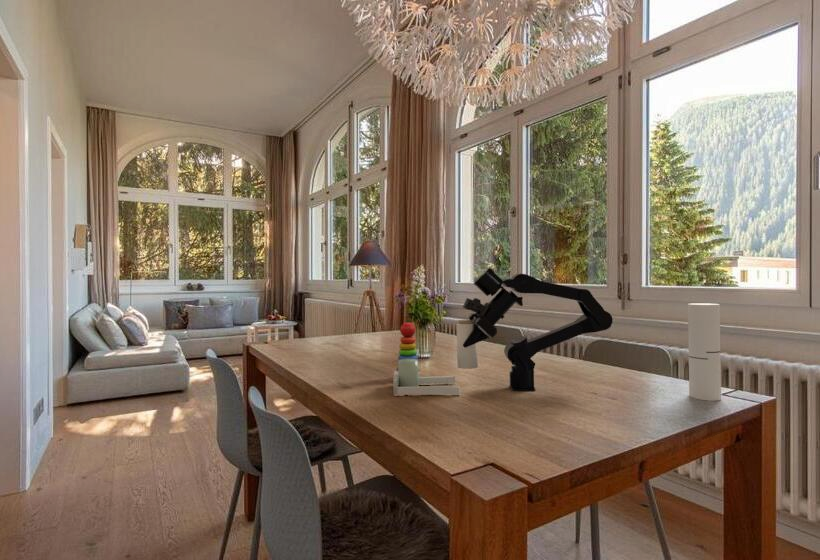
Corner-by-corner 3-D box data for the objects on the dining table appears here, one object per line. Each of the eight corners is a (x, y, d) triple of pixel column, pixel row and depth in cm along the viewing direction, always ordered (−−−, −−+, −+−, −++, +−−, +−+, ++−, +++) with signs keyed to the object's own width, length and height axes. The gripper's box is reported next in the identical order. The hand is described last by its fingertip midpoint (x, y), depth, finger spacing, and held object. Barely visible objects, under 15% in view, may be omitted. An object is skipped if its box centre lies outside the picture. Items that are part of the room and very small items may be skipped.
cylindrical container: (726, 401, 116) (724, 304, 115) (695, 400, 117) (694, 305, 117) (713, 394, 123) (712, 303, 122) (684, 393, 124) (683, 303, 124)
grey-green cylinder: (419, 388, 136) (419, 358, 135) (417, 393, 130) (417, 362, 130) (400, 387, 136) (399, 358, 136) (397, 393, 130) (396, 362, 130)
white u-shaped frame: (455, 383, 141) (454, 369, 141) (460, 396, 125) (460, 380, 125) (394, 384, 140) (394, 370, 140) (393, 397, 125) (393, 381, 125)
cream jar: (480, 365, 134) (479, 319, 134) (473, 369, 129) (471, 321, 129) (462, 364, 137) (461, 319, 137) (454, 367, 132) (453, 321, 132)
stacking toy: (420, 381, 144) (419, 323, 144) (395, 381, 144) (394, 324, 144) (420, 376, 152) (419, 321, 152) (396, 376, 152) (395, 321, 152)
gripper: (473, 287, 142) (440, 323, 142) (484, 289, 124) (445, 330, 124) (499, 311, 142) (465, 347, 142) (513, 316, 124) (474, 357, 124)
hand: (462, 344), depth 133 cm, fingers closed on cream jar, 6 cm apart
